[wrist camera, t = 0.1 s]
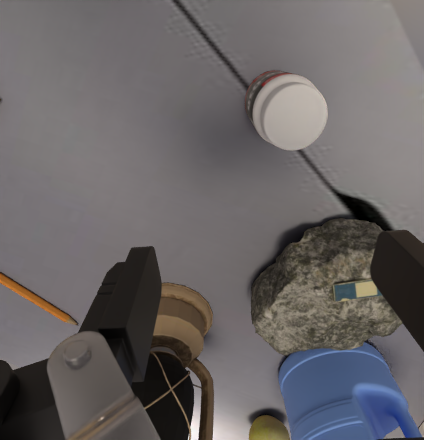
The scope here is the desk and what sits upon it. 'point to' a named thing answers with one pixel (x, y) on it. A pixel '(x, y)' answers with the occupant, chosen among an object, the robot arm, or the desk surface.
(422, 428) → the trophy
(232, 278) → the desk surface
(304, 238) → the rock
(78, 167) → the desk surface
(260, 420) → the fruit
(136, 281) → the robot arm
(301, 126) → the pill bottle
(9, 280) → the pencil
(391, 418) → the water jug
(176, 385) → the lantern
